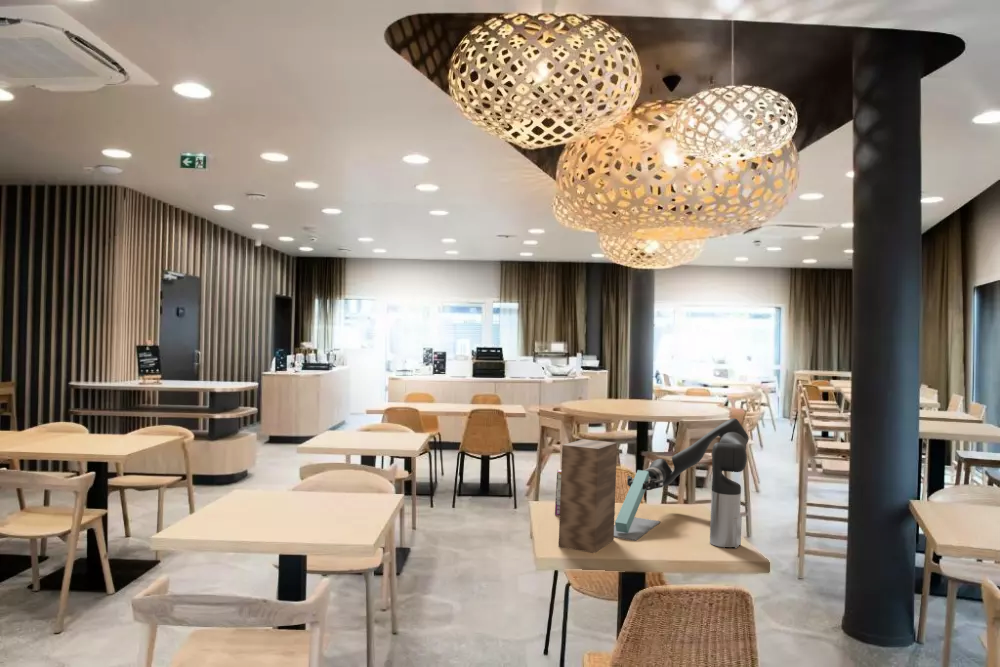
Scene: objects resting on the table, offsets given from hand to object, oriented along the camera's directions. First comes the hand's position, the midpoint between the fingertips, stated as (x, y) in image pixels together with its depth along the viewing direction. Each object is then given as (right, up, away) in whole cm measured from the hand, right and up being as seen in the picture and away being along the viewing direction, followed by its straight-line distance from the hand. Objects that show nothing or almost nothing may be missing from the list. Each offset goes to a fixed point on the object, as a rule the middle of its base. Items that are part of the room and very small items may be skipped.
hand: (637, 485), depth 259 cm
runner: (-3, -14, -4) cm, 15 cm away
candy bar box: (-23, -14, +13) cm, 30 cm away
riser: (-21, -13, -25) cm, 35 cm away
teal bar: (-2, -6, -3) cm, 7 cm away
